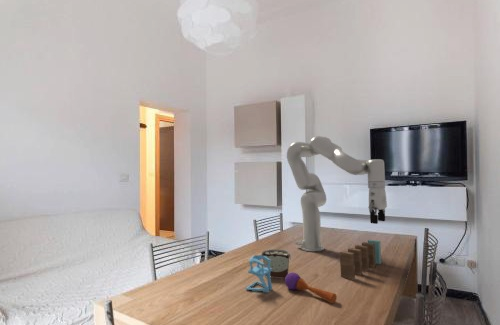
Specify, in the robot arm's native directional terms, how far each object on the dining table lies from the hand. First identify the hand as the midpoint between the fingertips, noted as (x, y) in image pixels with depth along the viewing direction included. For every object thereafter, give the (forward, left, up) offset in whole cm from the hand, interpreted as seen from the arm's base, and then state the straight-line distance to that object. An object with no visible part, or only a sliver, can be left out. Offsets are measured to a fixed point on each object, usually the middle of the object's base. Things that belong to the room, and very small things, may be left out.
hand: (377, 221), depth 140 cm
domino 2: (-14, -20, -18) cm, 30 cm away
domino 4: (-7, -9, -18) cm, 21 cm away
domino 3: (-10, -15, -18) cm, 25 cm away
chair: (-51, -41, -18) cm, 68 cm away
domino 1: (-18, -25, -18) cm, 36 cm away
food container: (-46, -26, -18) cm, 56 cm away
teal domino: (-3, -4, -18) cm, 19 cm away
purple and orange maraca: (-33, -43, -18) cm, 58 cm away
